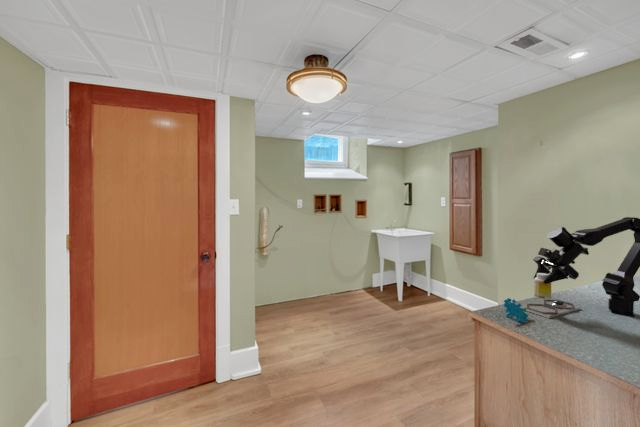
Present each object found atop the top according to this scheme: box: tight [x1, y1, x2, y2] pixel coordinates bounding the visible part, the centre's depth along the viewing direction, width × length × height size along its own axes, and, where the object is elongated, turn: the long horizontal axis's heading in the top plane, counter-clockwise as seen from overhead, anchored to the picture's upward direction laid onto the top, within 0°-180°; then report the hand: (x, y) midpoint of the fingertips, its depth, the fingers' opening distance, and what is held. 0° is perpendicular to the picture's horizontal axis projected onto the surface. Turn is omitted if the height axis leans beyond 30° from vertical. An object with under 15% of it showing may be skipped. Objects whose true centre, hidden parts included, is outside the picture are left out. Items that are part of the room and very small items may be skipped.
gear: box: [502, 297, 529, 324], centre depth 112 cm, size 11×6×10 cm
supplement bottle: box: [533, 273, 552, 301], centre depth 118 cm, size 6×6×10 cm
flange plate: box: [520, 298, 581, 319], centre depth 121 cm, size 22×12×2 cm, turn 113°
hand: (539, 281), depth 118 cm, fingers closed on supplement bottle, 5 cm apart
